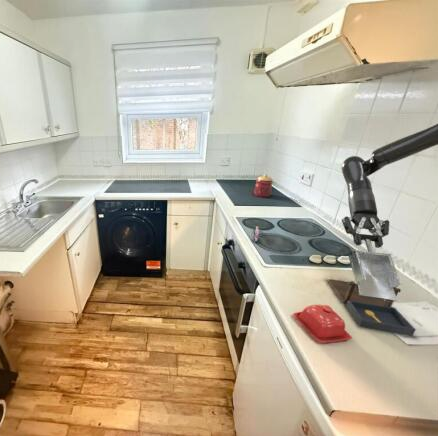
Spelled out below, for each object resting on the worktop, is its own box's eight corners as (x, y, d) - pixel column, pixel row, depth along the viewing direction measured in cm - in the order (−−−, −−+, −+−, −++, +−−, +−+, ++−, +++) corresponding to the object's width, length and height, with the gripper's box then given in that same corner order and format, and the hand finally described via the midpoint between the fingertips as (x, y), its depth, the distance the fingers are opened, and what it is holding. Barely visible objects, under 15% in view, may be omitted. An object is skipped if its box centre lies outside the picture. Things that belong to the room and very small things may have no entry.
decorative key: (256, 233, 140) (256, 243, 122) (254, 233, 140) (254, 242, 122) (259, 222, 138) (259, 230, 120) (256, 222, 139) (256, 230, 121)
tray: (392, 313, 79) (395, 307, 78) (412, 336, 70) (415, 329, 69) (345, 305, 82) (347, 300, 81) (359, 326, 74) (362, 320, 73)
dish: (344, 238, 90) (351, 231, 86) (375, 242, 87) (384, 235, 83) (358, 295, 78) (367, 290, 74) (396, 301, 75) (407, 296, 72)
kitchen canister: (262, 198, 192) (266, 176, 185) (250, 194, 203) (253, 173, 196) (273, 196, 197) (278, 175, 190) (261, 192, 208) (264, 172, 201)
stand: (327, 281, 94) (334, 262, 91) (369, 287, 91) (378, 268, 87) (342, 303, 83) (350, 283, 80) (391, 311, 80) (401, 290, 76)
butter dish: (321, 312, 79) (328, 292, 76) (353, 342, 68) (363, 320, 65) (289, 316, 78) (296, 295, 74) (317, 347, 67) (326, 324, 64)
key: (361, 310, 79) (362, 309, 79) (370, 311, 79) (370, 310, 79) (376, 325, 73) (377, 324, 73) (386, 325, 73) (386, 324, 73)
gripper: (345, 197, 88) (351, 240, 82) (392, 200, 85) (402, 245, 78) (334, 206, 95) (339, 246, 88) (377, 209, 91) (385, 251, 85)
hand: (368, 245), depth 83 cm, fingers closed on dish, 5 cm apart
